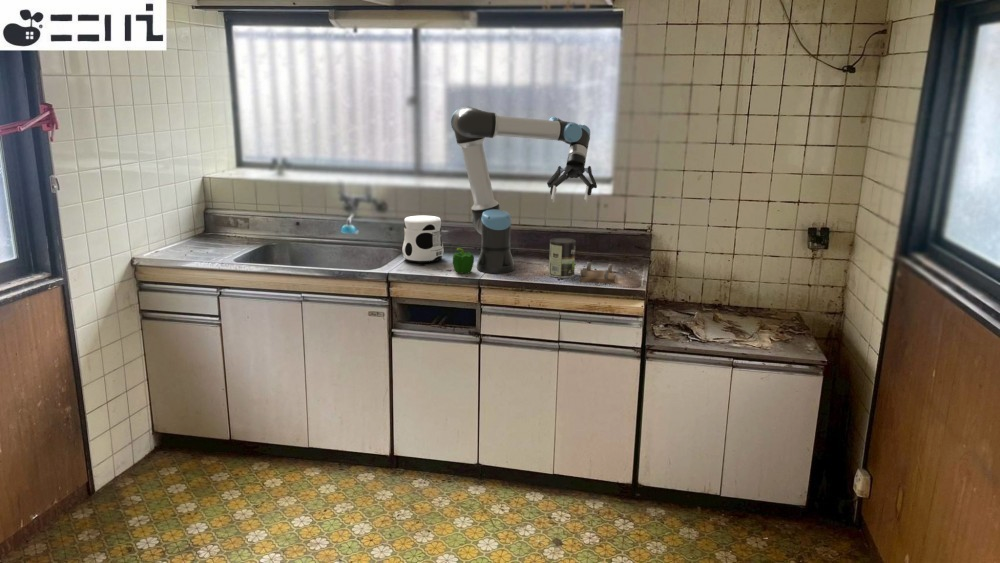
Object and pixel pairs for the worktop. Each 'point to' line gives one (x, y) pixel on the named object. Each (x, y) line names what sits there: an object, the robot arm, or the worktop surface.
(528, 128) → the robot arm
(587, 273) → the can seat
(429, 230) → the milk container
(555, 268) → the coffee can
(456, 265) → the bell pepper
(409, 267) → the worktop surface
